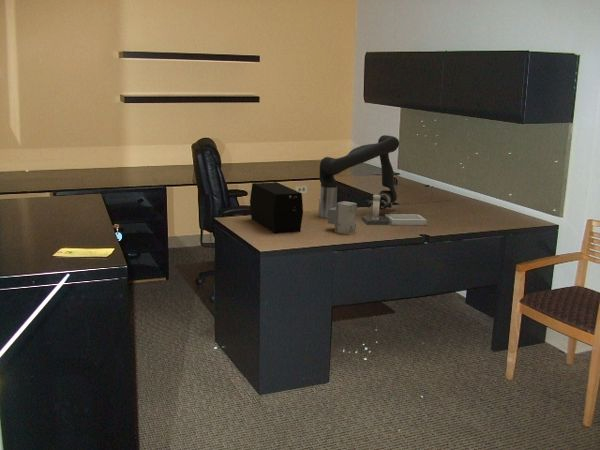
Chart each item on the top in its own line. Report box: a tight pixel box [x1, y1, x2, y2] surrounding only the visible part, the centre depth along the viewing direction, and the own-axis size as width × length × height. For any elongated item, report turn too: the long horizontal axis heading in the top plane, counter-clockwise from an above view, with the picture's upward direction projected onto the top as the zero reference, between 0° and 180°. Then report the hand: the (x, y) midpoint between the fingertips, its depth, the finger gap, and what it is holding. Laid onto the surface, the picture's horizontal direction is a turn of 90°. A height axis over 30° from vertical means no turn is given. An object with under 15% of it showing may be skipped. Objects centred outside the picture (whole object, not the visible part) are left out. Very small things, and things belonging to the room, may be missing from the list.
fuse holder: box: [361, 215, 390, 226], centre depth 363 cm, size 12×12×2 cm
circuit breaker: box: [327, 200, 358, 235], centre depth 340 cm, size 8×14×15 cm, turn 56°
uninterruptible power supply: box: [249, 181, 304, 234], centre depth 344 cm, size 16×34×20 cm, turn 26°
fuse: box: [371, 194, 381, 220], centre depth 362 cm, size 4×4×15 cm
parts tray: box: [384, 213, 428, 226], centre depth 365 cm, size 20×14×3 cm
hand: (376, 206), depth 363 cm, fingers open, 8 cm apart
